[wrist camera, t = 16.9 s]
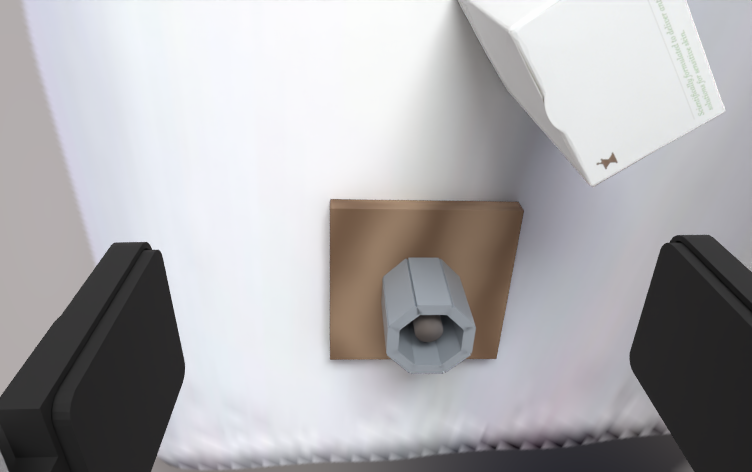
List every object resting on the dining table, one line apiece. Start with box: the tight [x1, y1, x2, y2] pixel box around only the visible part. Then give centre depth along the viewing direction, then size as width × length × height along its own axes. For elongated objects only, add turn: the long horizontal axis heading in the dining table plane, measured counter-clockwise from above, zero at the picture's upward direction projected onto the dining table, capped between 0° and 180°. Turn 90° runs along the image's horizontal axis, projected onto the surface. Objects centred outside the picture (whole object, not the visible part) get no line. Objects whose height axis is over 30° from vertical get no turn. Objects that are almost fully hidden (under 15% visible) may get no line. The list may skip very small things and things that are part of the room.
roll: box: [381, 258, 476, 374], centre depth 42 cm, size 6×6×6 cm
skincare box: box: [458, 0, 725, 187], centre depth 29 cm, size 8×7×16 cm
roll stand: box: [330, 199, 524, 360], centre depth 43 cm, size 14×14×6 cm
